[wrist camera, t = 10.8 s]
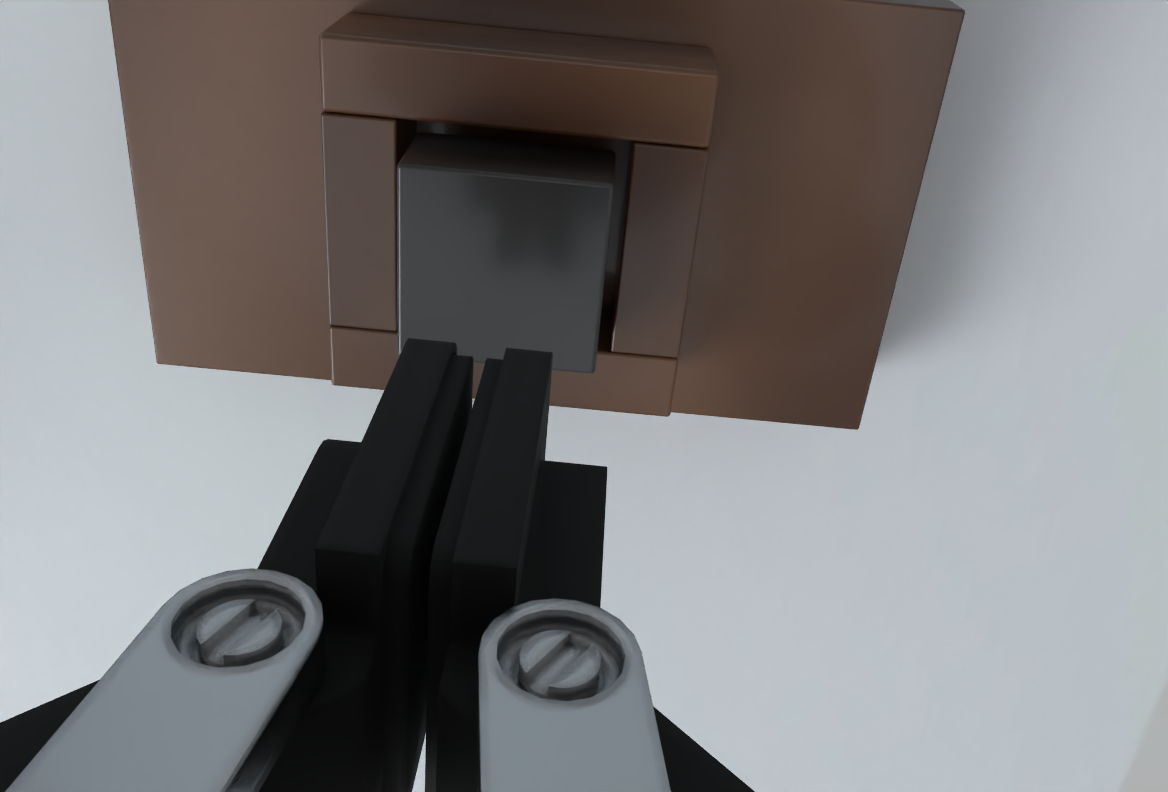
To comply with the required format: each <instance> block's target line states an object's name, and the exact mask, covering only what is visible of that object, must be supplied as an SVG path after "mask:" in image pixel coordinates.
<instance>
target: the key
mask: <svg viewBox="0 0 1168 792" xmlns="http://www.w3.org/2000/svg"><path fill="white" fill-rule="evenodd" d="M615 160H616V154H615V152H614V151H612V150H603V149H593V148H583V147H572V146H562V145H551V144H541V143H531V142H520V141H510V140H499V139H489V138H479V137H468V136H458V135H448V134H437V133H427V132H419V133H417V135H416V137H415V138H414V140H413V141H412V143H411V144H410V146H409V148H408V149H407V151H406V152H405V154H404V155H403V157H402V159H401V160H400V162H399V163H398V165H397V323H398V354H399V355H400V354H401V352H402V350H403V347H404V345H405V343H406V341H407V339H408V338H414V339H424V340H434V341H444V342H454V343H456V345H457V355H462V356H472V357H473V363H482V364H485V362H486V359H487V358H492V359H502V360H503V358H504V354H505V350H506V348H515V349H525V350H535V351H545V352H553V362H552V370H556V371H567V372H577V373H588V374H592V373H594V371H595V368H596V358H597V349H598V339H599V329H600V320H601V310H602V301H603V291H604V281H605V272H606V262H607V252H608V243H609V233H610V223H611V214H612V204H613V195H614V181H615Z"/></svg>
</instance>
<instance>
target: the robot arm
mask: <svg viewBox="0 0 1168 792" xmlns="http://www.w3.org/2000/svg"><path fill="white" fill-rule="evenodd" d="M552 362H553V352H545V351H535V350H525V349H515V348H506V350H505V354H504V358H503V360H502V359H492V358H487V359H486V362H485V365H484V369H483V372H482V376H481V379H480V383H479V387H478V390H477V394H476V397H475V401H474V404H473V408H472V396H473V370H474V363H473V357H472V356H462V355H457V345H456V343H454V342H444V341H434V340H424V339H414V338H408V339H407V341H406V343H405V345H404V347H403V350H402V352H401V354H400V356H399V359H398V361H397V363H396V365H395V368H394V370H393V372H392V375H391V377H390V379H389V381H388V384H387V386H386V388H385V390H384V393H383V395H382V397H381V399H380V402H379V404H378V406H377V408H376V411H375V413H374V415H373V418H372V420H371V422H370V424H369V427H368V429H367V431H366V433H365V436H364V438H363V440H362V442H351V441H341V440H331V439H327V440H324V441H323V442H322V444H321V445H320V447H319V448H318V450H317V452H316V454H315V456H314V458H313V460H312V462H311V464H310V466H309V468H308V470H307V472H306V474H305V476H304V478H303V480H302V482H301V484H300V486H299V488H298V490H297V492H296V494H295V496H294V498H293V500H292V502H291V504H290V506H289V508H288V510H287V511H286V513H285V515H284V517H283V519H282V521H281V523H280V525H279V527H278V529H277V531H276V533H275V535H274V537H273V539H272V541H271V543H270V545H269V547H268V549H267V551H266V553H265V555H264V557H263V559H262V561H261V563H260V565H259V567H258V569H242V570H233V571H225V572H222V573H219V574H215V575H212V576H208V577H205V578H202V579H200V580H198V581H196V582H194V583H192V584H190V585H189V586H187V587H185V588H183V589H181V590H180V591H178V592H177V593H176V594H175V595H174V596H173V597H172V598H170V599H169V600H168V601H167V602H166V603H165V604H164V605H163V606H162V607H161V608H160V609H159V610H158V612H157V613H156V614H155V615H154V616H153V618H152V619H151V620H150V621H149V622H148V623H147V625H146V626H145V627H144V628H143V629H142V631H141V632H140V633H139V634H138V635H137V637H136V638H135V639H134V640H133V641H132V642H131V644H130V645H129V646H128V647H127V648H126V650H125V651H124V652H123V653H122V654H121V655H120V657H119V658H118V659H117V660H116V661H115V663H114V664H113V665H112V666H111V667H110V668H109V670H108V671H107V672H106V673H105V674H104V676H103V677H102V678H101V679H100V680H98V681H96V682H93V683H91V684H89V685H86V686H84V687H82V688H79V689H77V690H75V691H73V692H70V693H68V694H66V695H63V696H61V697H59V698H56V699H54V700H52V701H49V702H47V703H45V704H43V705H40V706H38V707H36V708H33V709H31V710H29V711H26V712H24V713H22V714H19V715H17V716H15V717H13V718H10V719H8V720H6V721H3V722H1V723H0V792H412V789H413V785H414V780H415V776H416V772H417V768H418V763H419V759H420V755H421V750H422V746H423V742H424V738H425V733H426V764H425V792H754V791H753V790H752V789H751V788H750V787H748V786H747V785H746V784H745V783H744V782H743V781H741V780H740V779H739V778H738V777H737V776H735V775H734V774H733V773H732V772H731V771H729V770H728V769H727V768H726V767H725V766H723V765H722V764H721V763H720V762H719V761H718V760H716V759H715V758H714V757H713V756H712V755H710V754H709V753H708V752H707V751H706V750H704V749H703V748H702V747H701V746H700V745H698V744H697V743H696V742H695V741H694V740H693V739H691V738H690V737H689V736H688V735H687V734H685V733H684V732H683V731H682V730H681V729H679V728H678V727H677V726H676V725H675V724H674V723H672V722H671V721H670V720H669V719H668V718H666V717H665V716H664V715H663V714H662V713H660V712H659V711H658V710H657V709H656V708H654V707H653V704H652V699H651V694H650V690H649V685H648V680H647V675H646V671H645V666H644V661H643V656H642V652H641V650H640V647H639V645H638V643H637V640H636V638H635V636H634V634H633V633H632V632H631V631H630V630H629V629H628V628H627V627H626V625H625V624H624V623H623V622H622V621H621V620H620V619H618V618H617V617H615V616H613V615H612V614H610V613H608V612H607V611H605V610H603V609H602V608H600V601H601V581H602V562H603V543H604V523H605V504H606V484H607V467H604V466H594V465H584V464H574V463H564V462H553V461H545V449H546V437H547V425H548V412H549V400H550V387H551V375H552Z"/></svg>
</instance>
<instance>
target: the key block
mask: <svg viewBox="0 0 1168 792" xmlns="http://www.w3.org/2000/svg"><path fill="white" fill-rule="evenodd" d="M108 3H109V10H110V18H111V25H112V33H113V40H114V48H115V55H116V62H117V70H118V77H119V85H120V92H121V100H122V107H123V114H124V122H125V129H126V137H127V144H128V152H129V159H130V166H131V174H132V181H133V189H134V196H135V204H136V211H137V218H138V226H139V233H140V241H141V248H142V256H143V263H144V270H145V278H146V285H147V293H148V300H149V308H150V315H151V322H152V330H153V337H154V345H155V352H156V360H157V363H158V364H167V365H177V366H188V367H198V368H209V369H220V370H230V371H241V372H251V373H262V374H273V375H283V376H294V377H304V378H315V379H326V380H331V381H332V384H333V385H338V386H348V387H359V388H370V389H380V390H385V388H386V386H387V384H388V381H389V379H390V377H391V375H392V372H393V370H394V368H395V365H396V363H397V361H398V359H399V356H400V355H399V354H398V323H397V165H398V163H399V162H400V160H401V159H402V157H403V155H404V154H405V152H406V151H407V149H408V148H409V146H410V144H411V143H412V141H413V140H414V138H415V137H416V135H417V133H419V132H427V133H437V134H448V135H458V136H468V137H479V138H489V139H499V140H510V141H520V142H531V143H541V144H551V145H562V146H572V147H583V148H593V149H603V150H612V151H614V152H615V154H616V160H615V181H614V195H613V204H612V214H611V223H610V233H609V243H608V252H607V262H606V272H605V281H604V291H603V301H602V310H601V320H600V329H599V339H598V349H597V358H596V368H595V371H594V373H592V374H588V373H577V372H567V371H556V370H552V375H551V387H550V400H549V405H550V406H560V407H571V408H582V409H592V410H603V411H613V412H624V413H635V414H645V415H656V416H666V417H667V416H669V415H670V414H671V412H675V413H686V414H697V415H707V416H718V417H728V418H739V419H750V420H760V421H771V422H781V423H792V424H803V425H813V426H824V427H834V428H845V429H856V430H857V429H858V428H859V426H860V422H861V418H862V414H863V410H864V406H865V402H866V398H867V394H868V390H869V386H870V383H871V379H872V375H873V371H874V367H875V363H876V359H877V355H878V351H879V347H880V343H881V339H882V336H883V332H884V328H885V324H886V320H887V316H888V312H889V308H890V304H891V300H892V296H893V293H894V289H895V285H896V281H897V277H898V273H899V269H900V265H901V261H902V257H903V253H904V249H905V246H906V242H907V238H908V234H909V230H910V226H911V222H912V218H913V214H914V210H915V206H916V202H917V199H918V195H919V191H920V187H921V183H922V179H923V175H924V171H925V167H926V163H927V159H928V156H929V152H930V148H931V144H932V140H933V136H934V132H935V128H936V124H937V120H938V116H939V112H940V109H941V105H942V101H943V97H944V93H945V89H946V85H947V81H948V77H949V73H950V69H951V65H952V62H953V58H954V54H955V50H956V46H957V42H958V38H959V34H960V30H961V26H962V22H963V19H964V15H965V10H963V9H962V8H960V7H959V6H957V5H955V4H954V3H952V2H951V1H949V0H108ZM484 365H485V364H482V363H474V370H473V396H472V398H475V397H476V394H477V390H478V387H479V383H480V379H481V376H482V372H483V369H484Z"/></svg>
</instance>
